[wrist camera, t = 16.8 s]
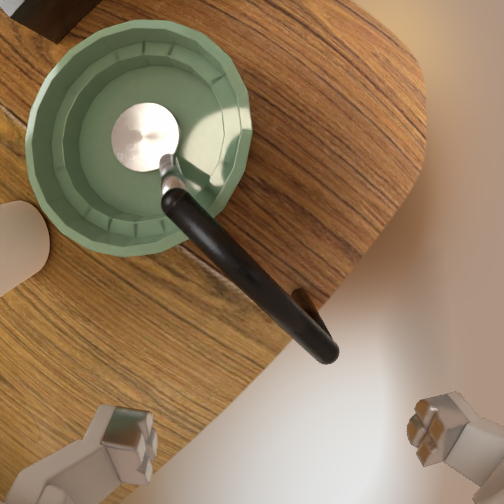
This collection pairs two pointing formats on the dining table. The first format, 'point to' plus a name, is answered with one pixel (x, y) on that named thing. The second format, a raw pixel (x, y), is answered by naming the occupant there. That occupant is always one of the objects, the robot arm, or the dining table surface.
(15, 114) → the dining table surface
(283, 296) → the black and silver ladle
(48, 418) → the dining table surface
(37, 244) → the beverage can
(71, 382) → the dining table surface
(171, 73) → the bowl
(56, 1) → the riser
